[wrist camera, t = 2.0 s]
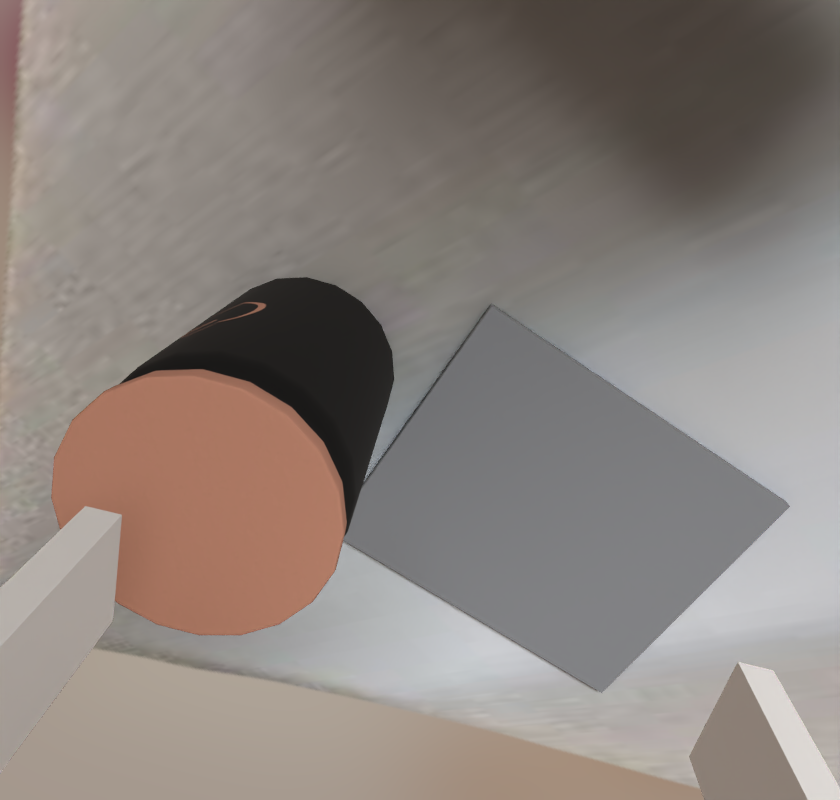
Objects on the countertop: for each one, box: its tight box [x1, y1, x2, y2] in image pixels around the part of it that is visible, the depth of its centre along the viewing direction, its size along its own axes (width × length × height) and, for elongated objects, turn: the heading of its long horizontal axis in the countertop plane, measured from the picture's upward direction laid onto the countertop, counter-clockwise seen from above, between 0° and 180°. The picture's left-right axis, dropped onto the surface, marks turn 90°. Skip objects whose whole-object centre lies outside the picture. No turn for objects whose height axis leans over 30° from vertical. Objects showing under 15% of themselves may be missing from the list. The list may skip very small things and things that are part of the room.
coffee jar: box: [51, 277, 394, 635], centre depth 33 cm, size 11×11×18 cm
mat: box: [343, 304, 790, 693], centre depth 44 cm, size 22×18×1 cm
